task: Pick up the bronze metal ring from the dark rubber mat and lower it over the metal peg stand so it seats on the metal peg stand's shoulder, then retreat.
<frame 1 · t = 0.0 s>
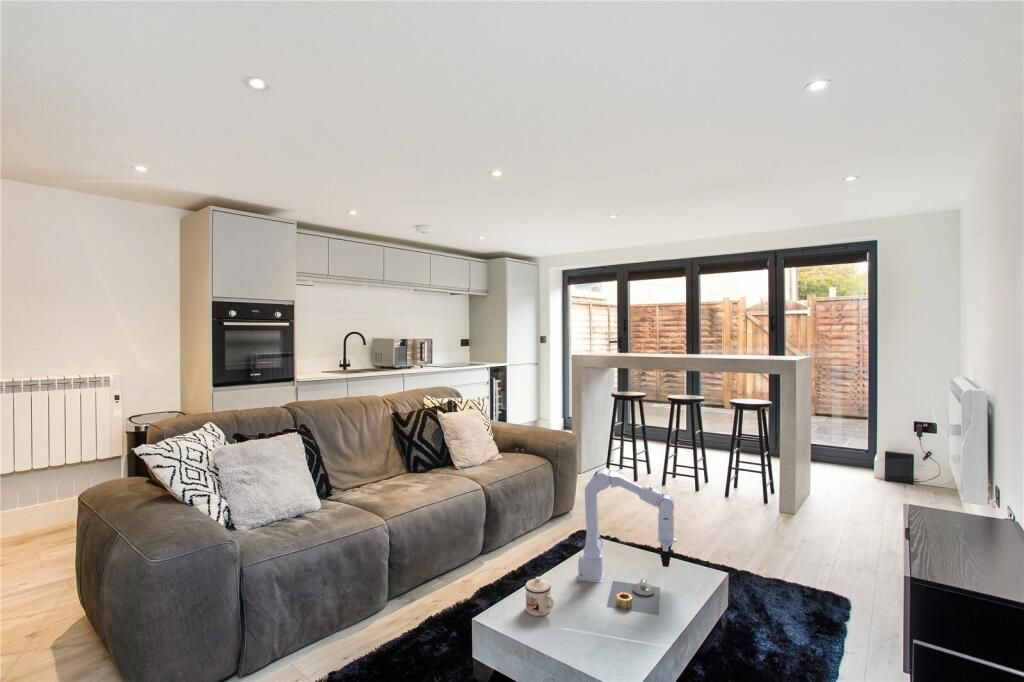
hand: (665, 562, 202), 10 cm above the table, fingers open, 7 cm apart
metal peg stand: (643, 591, 199), resting on bench mat
ring: (624, 605, 189), resting on bench mat
teacup with lid: (540, 612, 186), on the table
bench mat: (634, 597, 195), on the table
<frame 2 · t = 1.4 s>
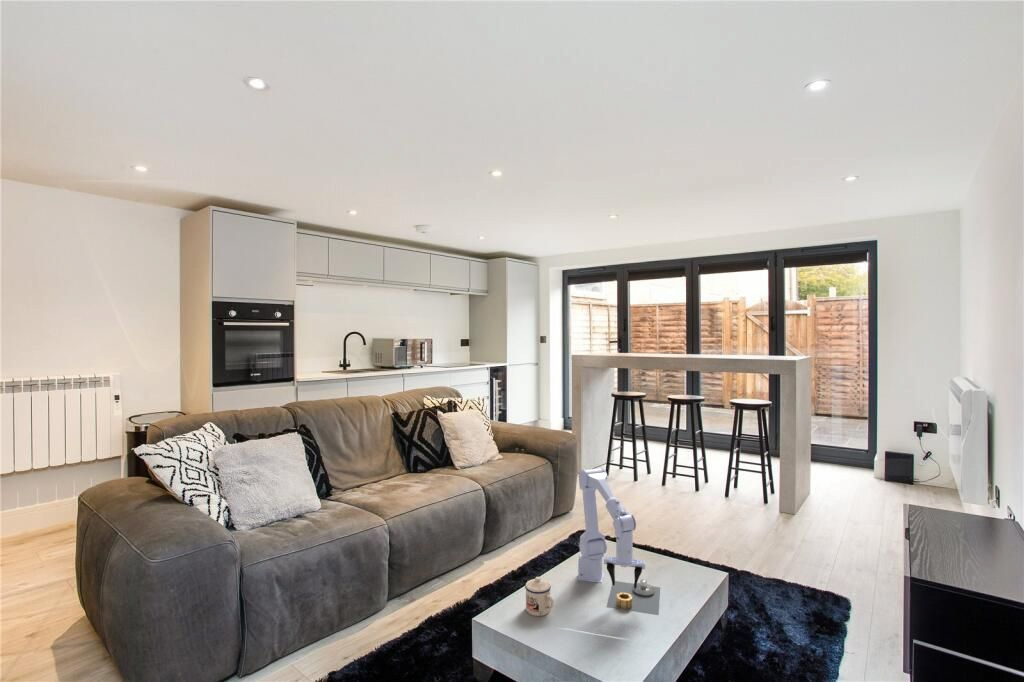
hand: (624, 585, 189), 8 cm above the table, fingers open, 7 cm apart
nothing on the table moved.
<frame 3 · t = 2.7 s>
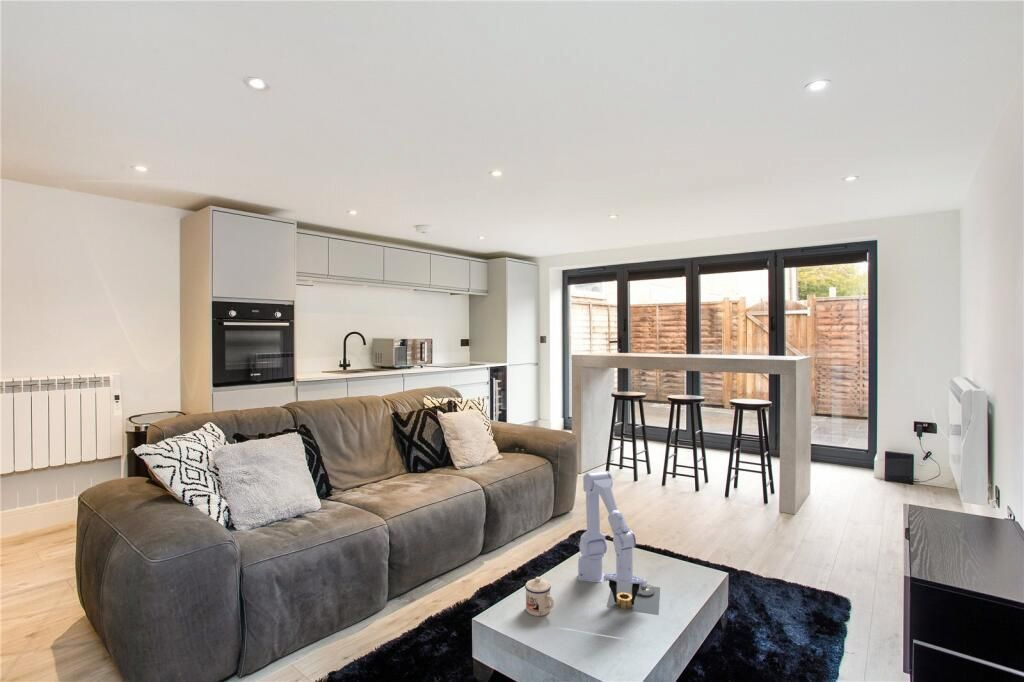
hand: (624, 602, 189), 1 cm above the table, fingers closed on ring, 5 cm apart
ring: (624, 605, 189), resting on bench mat, touching gripper
everything else where it was.
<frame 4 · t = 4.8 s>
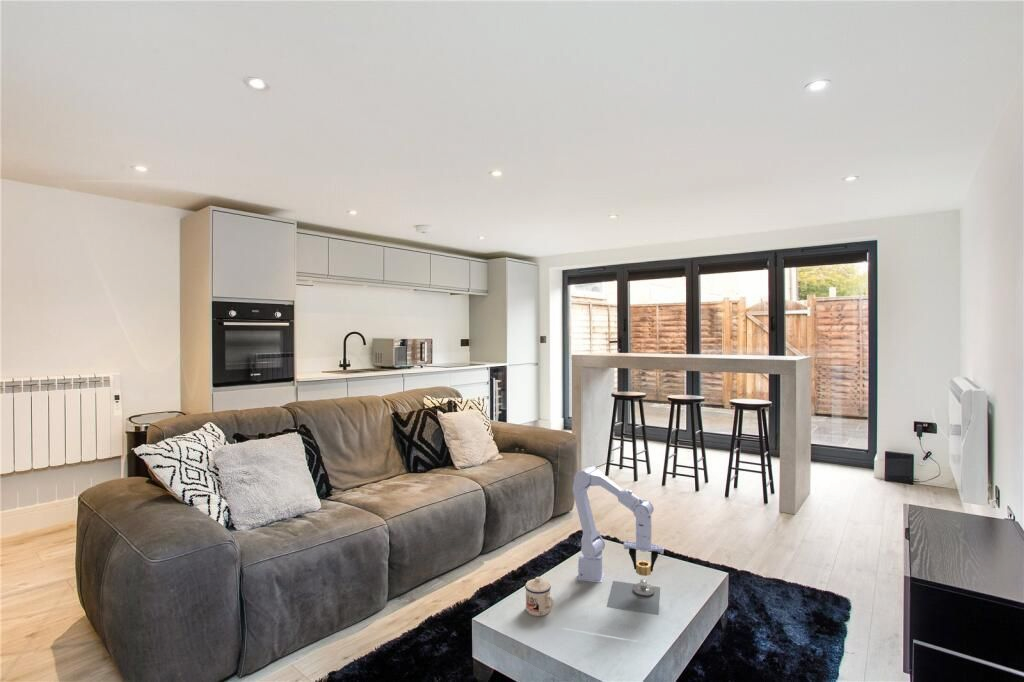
hand: (643, 569, 199), 9 cm above the table, fingers closed on ring, 5 cm apart
ring: (643, 572, 198), point 8 cm above the table, touching gripper
everything else where it was.
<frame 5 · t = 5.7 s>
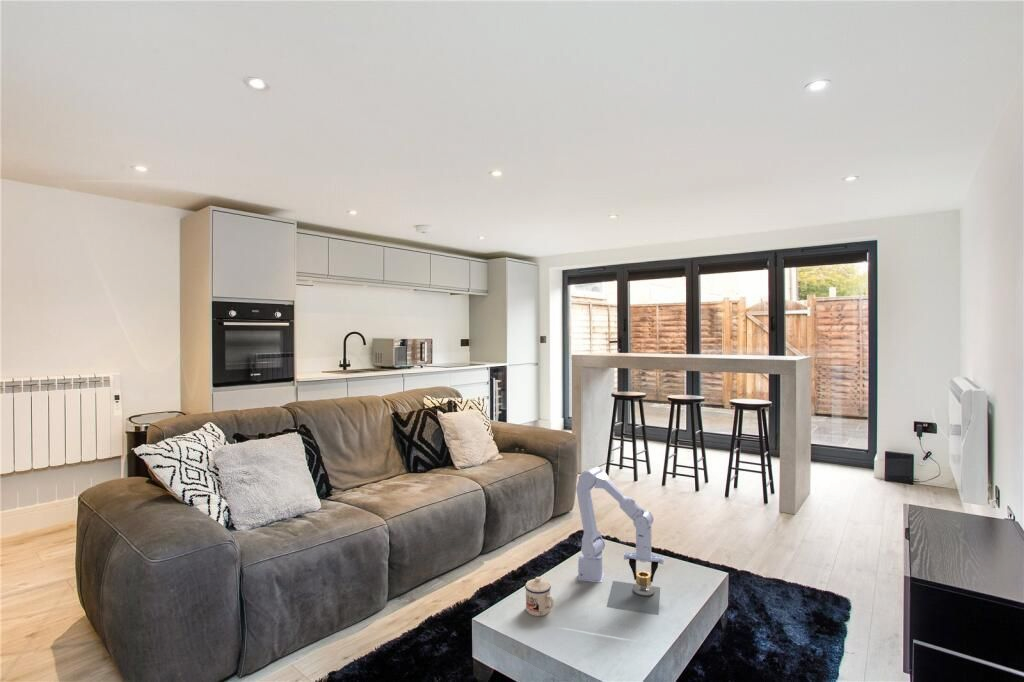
hand: (643, 579, 199), 5 cm above the table, fingers closed on ring, 5 cm apart
ring: (643, 582, 199), point 4 cm above the table, touching gripper
everything else where it was.
when the fingers open (5 cm above the table, at t = 6.7 s): ring drops 2 cm, resting on metal peg stand.
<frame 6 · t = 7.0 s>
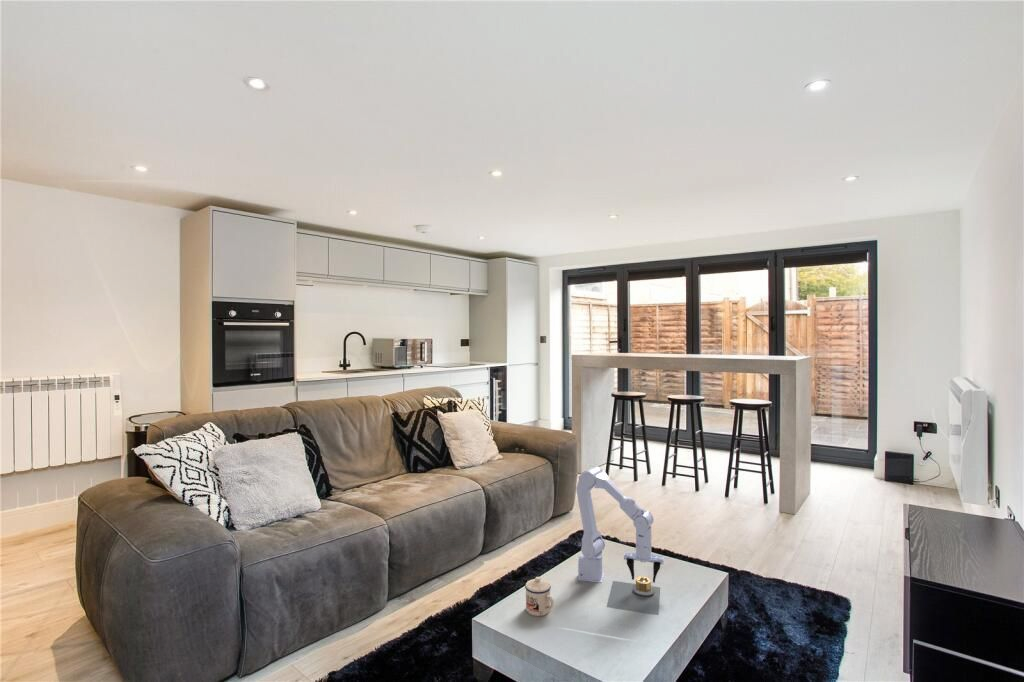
hand: (643, 579, 199), 5 cm above the table, fingers open, 7 cm apart
ring: (643, 588, 199), point 2 cm above the table, touching metal peg stand
everything else where it was.
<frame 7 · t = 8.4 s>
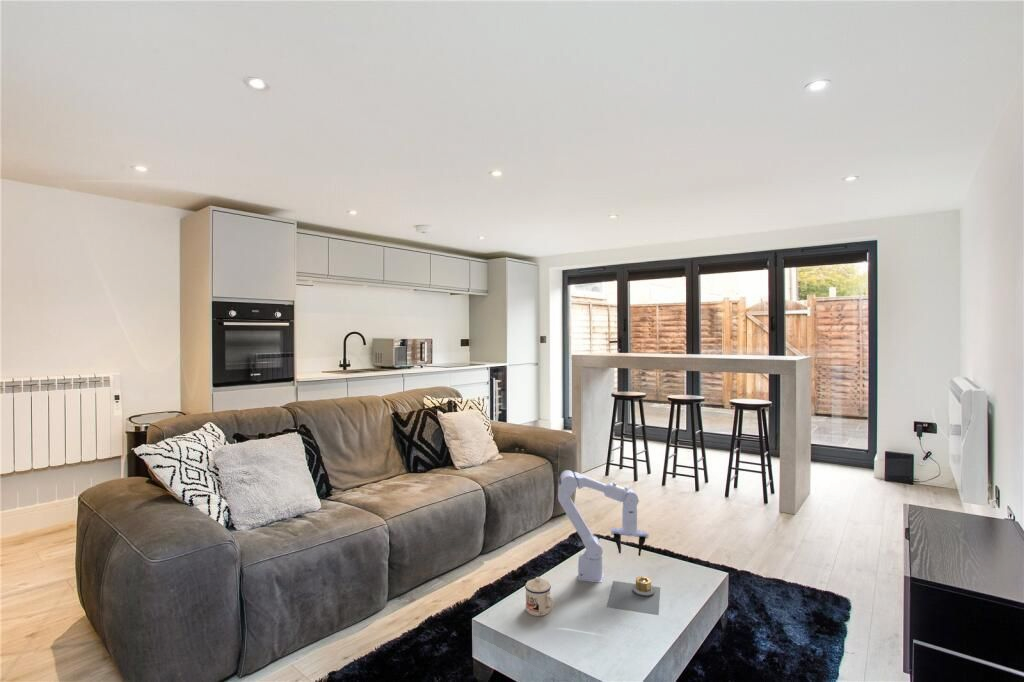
hand: (629, 553, 210), 10 cm above the table, fingers open, 7 cm apart
nothing on the table moved.
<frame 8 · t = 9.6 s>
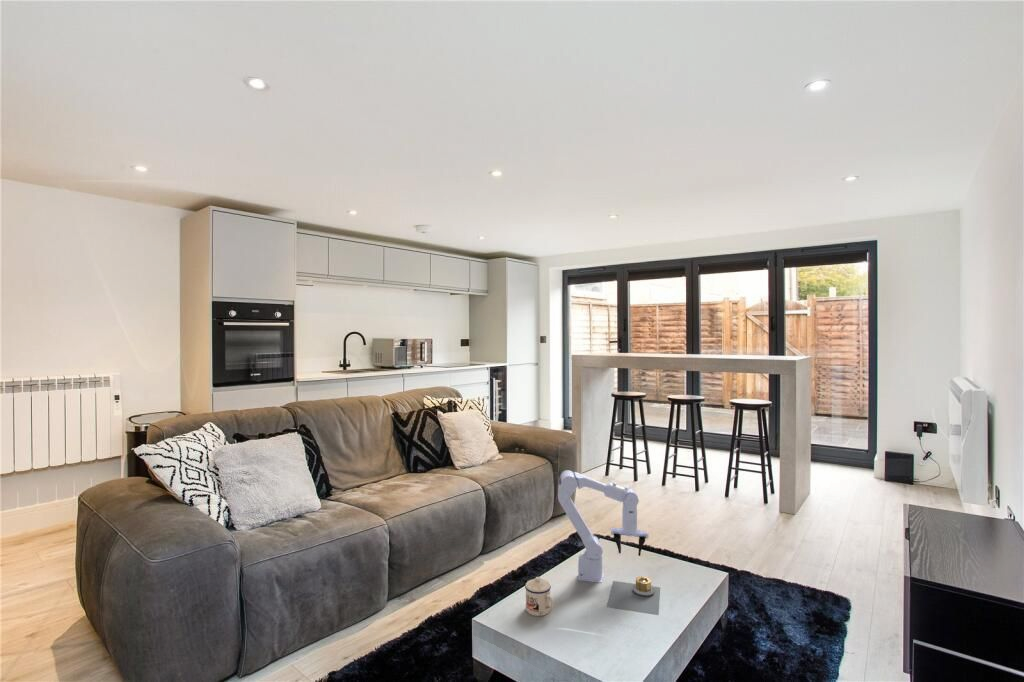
hand: (629, 553, 210), 10 cm above the table, fingers open, 7 cm apart
nothing on the table moved.
at the end: ring 0.1 cm off-centre on the metal peg stand, point 1.2 cm above the metal peg stand's base; the gripper is holding nothing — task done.
